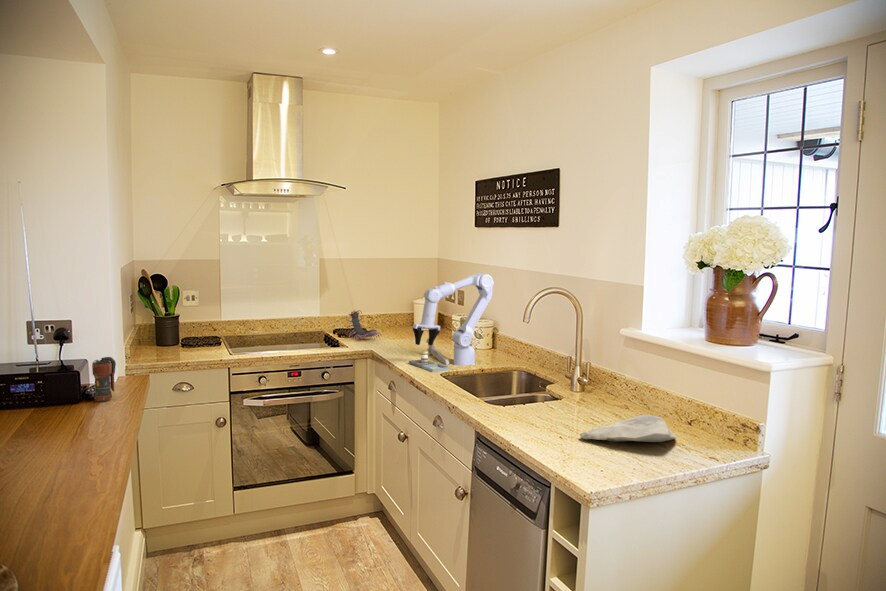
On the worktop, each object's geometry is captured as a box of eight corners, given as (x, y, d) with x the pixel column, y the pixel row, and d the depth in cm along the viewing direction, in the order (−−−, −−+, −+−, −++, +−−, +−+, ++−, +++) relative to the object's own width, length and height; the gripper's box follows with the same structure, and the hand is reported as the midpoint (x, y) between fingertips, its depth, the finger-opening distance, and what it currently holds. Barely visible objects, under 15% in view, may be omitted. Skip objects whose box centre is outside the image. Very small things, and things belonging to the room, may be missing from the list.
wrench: (445, 372, 278) (425, 352, 306) (448, 372, 279) (428, 352, 306) (446, 356, 277) (426, 337, 304) (450, 355, 277) (429, 337, 305)
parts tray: (438, 367, 275) (438, 363, 275) (449, 371, 268) (449, 367, 267) (421, 369, 270) (421, 365, 270) (432, 373, 263) (432, 369, 262)
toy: (360, 331, 357) (363, 307, 353) (381, 348, 337) (385, 322, 333) (341, 333, 350) (343, 308, 346) (361, 350, 330) (364, 324, 326)
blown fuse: (425, 364, 277) (425, 350, 276) (429, 365, 274) (429, 351, 274) (419, 365, 275) (419, 351, 275) (423, 366, 273) (423, 352, 272)
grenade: (120, 398, 215) (119, 357, 214) (99, 403, 209) (97, 361, 207) (111, 396, 218) (109, 355, 217) (89, 401, 212) (87, 358, 210)
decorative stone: (694, 424, 174) (592, 433, 171) (697, 448, 173) (594, 458, 171) (653, 409, 202) (565, 417, 199) (655, 429, 201) (567, 438, 199)
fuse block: (423, 363, 283) (423, 358, 283) (435, 367, 275) (435, 363, 274) (408, 365, 279) (408, 360, 278) (420, 369, 270) (420, 365, 270)
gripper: (435, 314, 280) (430, 343, 281) (410, 312, 270) (405, 342, 271) (445, 317, 275) (440, 346, 276) (420, 315, 265) (415, 345, 266)
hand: (423, 344), depth 273 cm, fingers open, 7 cm apart
